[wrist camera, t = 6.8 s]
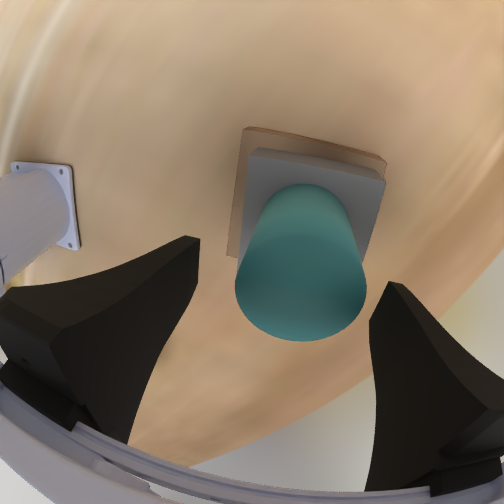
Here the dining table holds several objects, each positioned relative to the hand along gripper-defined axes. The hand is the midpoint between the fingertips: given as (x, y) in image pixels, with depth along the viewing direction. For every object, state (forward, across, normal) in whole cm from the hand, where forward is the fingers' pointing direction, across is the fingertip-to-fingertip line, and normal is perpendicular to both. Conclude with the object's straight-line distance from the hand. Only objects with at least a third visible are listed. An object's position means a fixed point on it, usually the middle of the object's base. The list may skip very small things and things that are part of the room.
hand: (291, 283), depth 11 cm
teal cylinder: (+4, 0, 0) cm, 4 cm away
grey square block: (+7, 0, 0) cm, 7 cm away
